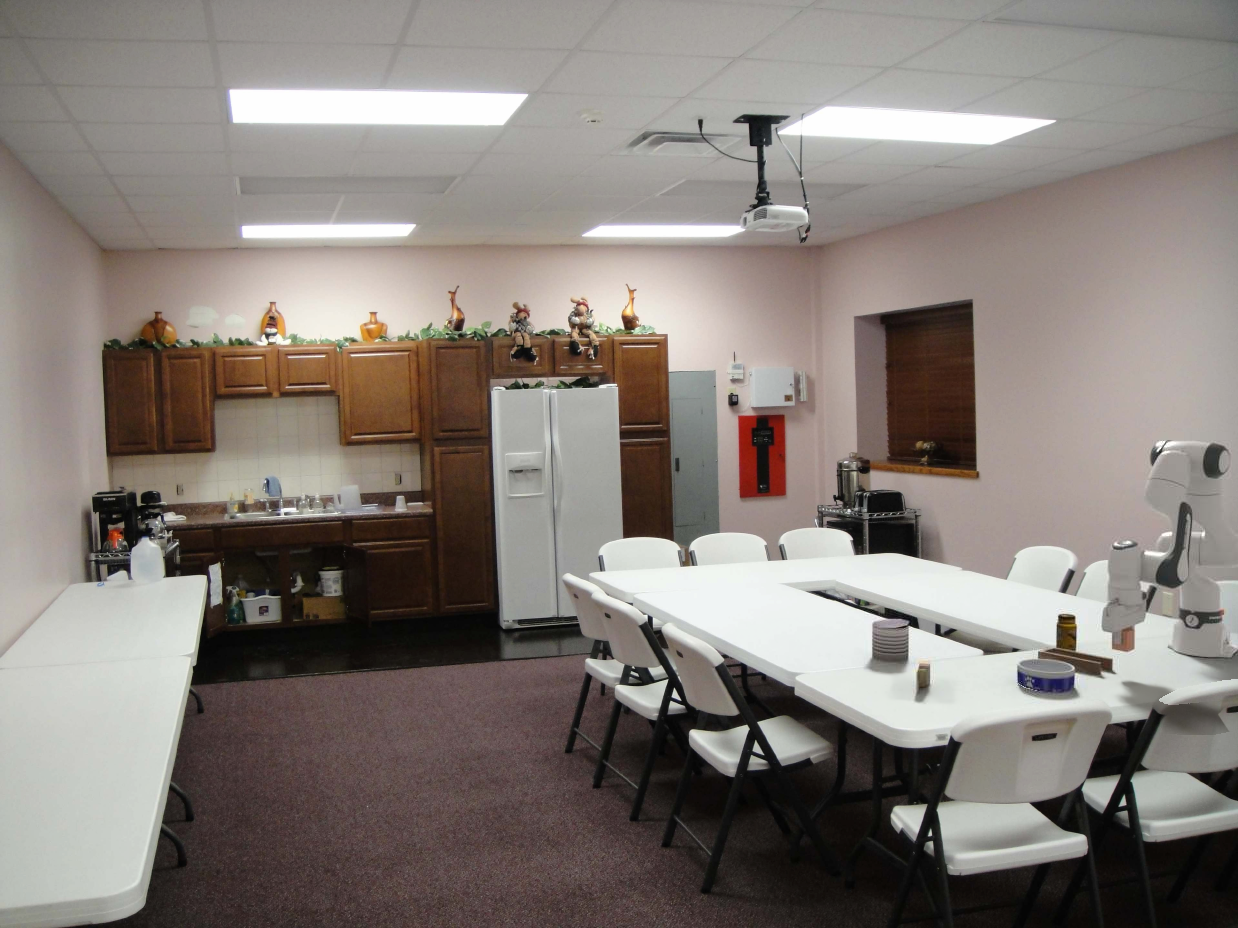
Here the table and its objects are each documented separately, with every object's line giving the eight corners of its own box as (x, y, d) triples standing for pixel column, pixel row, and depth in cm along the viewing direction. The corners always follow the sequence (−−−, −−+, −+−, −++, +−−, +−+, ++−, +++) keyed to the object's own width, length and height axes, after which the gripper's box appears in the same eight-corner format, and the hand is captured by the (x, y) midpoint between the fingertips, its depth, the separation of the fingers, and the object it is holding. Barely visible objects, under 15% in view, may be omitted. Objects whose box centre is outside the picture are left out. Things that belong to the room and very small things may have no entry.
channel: (1051, 657, 315) (1051, 646, 315) (1112, 669, 300) (1112, 658, 300) (1037, 662, 310) (1038, 651, 310) (1099, 674, 295) (1099, 663, 295)
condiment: (1080, 654, 319) (1081, 617, 319) (1053, 653, 320) (1054, 617, 319) (1072, 648, 327) (1073, 612, 326) (1046, 648, 327) (1046, 612, 327)
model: (930, 685, 288) (930, 659, 287) (928, 695, 278) (928, 668, 277) (918, 684, 289) (918, 658, 288) (916, 694, 279) (916, 668, 278)
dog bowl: (1008, 686, 285) (1008, 665, 285) (1028, 675, 296) (1028, 655, 296) (1063, 696, 275) (1064, 675, 274) (1082, 684, 286) (1082, 664, 285)
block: (1119, 646, 297) (1119, 626, 297) (1134, 648, 294) (1134, 629, 293) (1111, 648, 294) (1112, 629, 294) (1127, 651, 291) (1127, 631, 290)
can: (907, 664, 309) (908, 626, 309) (870, 661, 313) (870, 624, 312) (909, 655, 320) (909, 618, 319) (873, 652, 324) (873, 616, 323)
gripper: (1117, 603, 284) (1117, 650, 285) (1150, 592, 296) (1149, 637, 297) (1095, 599, 289) (1095, 646, 290) (1129, 589, 301) (1128, 633, 302)
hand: (1123, 641), depth 294 cm, fingers closed on block, 4 cm apart
